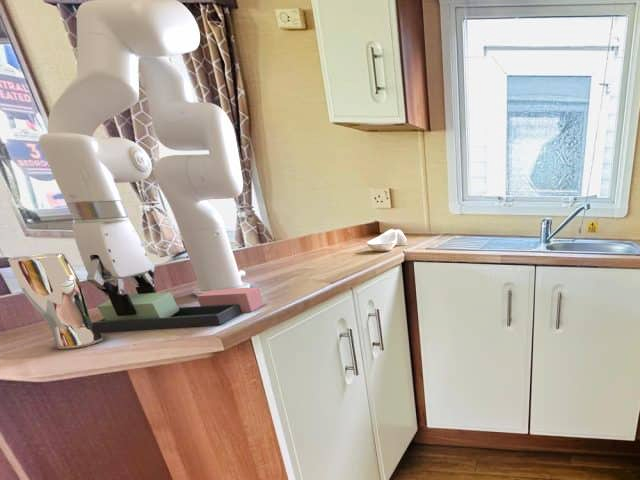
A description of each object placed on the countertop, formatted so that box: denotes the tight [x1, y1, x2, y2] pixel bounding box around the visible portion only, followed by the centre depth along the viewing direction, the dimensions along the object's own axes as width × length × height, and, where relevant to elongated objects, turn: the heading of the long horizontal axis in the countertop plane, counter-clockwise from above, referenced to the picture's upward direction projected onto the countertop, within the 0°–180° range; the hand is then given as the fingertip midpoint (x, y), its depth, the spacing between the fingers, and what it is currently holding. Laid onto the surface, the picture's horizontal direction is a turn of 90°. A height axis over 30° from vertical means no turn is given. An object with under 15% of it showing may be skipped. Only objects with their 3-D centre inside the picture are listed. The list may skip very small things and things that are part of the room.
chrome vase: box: [7, 252, 104, 350], centre depth 71 cm, size 7×7×15 cm
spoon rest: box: [366, 229, 408, 253], centre depth 177 cm, size 24×12×7 cm, turn 167°
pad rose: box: [196, 286, 264, 313], centre depth 92 cm, size 6×10×4 cm, turn 95°
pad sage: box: [96, 291, 179, 321], centre depth 83 cm, size 6×10×4 cm, turn 96°
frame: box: [92, 304, 243, 333], centre depth 85 cm, size 9×23×2 cm, turn 95°
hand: (140, 309), depth 83 cm, fingers closed on pad sage, 6 cm apart
